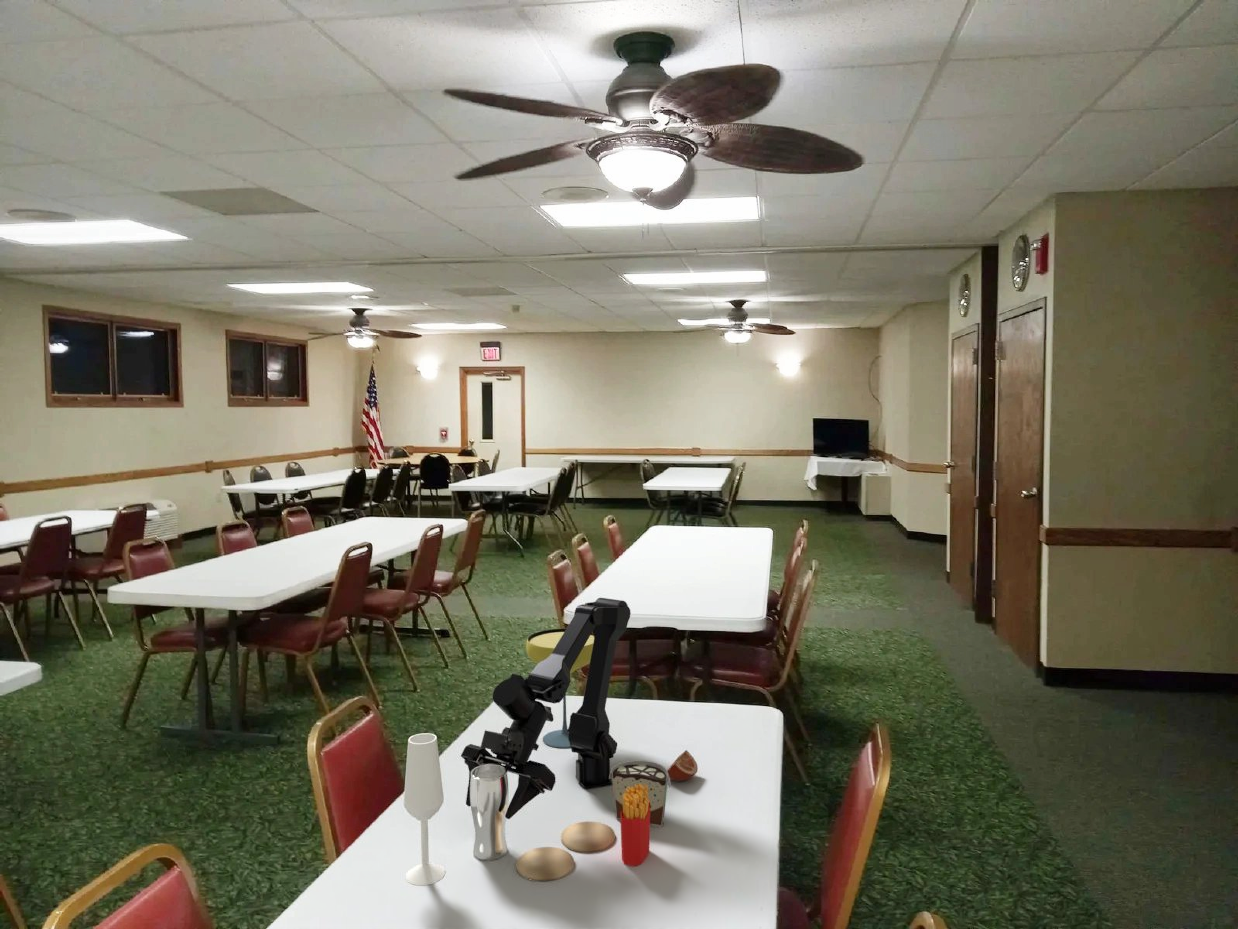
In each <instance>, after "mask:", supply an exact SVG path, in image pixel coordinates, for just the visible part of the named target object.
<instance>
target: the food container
mask: <svg viewBox="0 0 1238 929" xmlns="http://www.w3.org/2000/svg"><path fill="white" fill-rule="evenodd" d="M667 770H668V769H667V768H666V767H664V766H663V765H662V764H659V763H657V762H654V761H648V760H629V761H624V762H620V763H618V764H615V765H614V766H612V768H610V775H609V779H610V778H611V780H612V784H611V785H612V790H613V801H614V802H613V803H614V809H615V819H616V820H618V821H621V820H620V813H621V812H622V810H623V800H622V797H623V794H624V793H626V791H625V789H627V787H630V788H631V786H633V787H634V785H635V784H636V785H637V786H638V784H641V785H642V786H643V787H644V788H645V785H647V786H648V800H649V802H650V826H653V827H659V828H660V827H661V828H662V827H663V826H664V823H665V822H664V820H665V814H666V813H665V810H666V802H667V790H668V788H671V785H672V783H671V779H670V777H669V774H668V771H667ZM644 791H645V789H644Z"/></svg>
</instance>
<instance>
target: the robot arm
mask: <svg viewBox="0 0 1238 929" xmlns="http://www.w3.org/2000/svg"><path fill="white" fill-rule="evenodd" d="M631 615H632V614H631V609H630V607H629V605H628V603H627V602H626V601H625V600H621V599H613V598H608V597H607V598H605V597H598V598H597V599H596V600H595V601H592V602H591V601H590V602H585V603H584V604H579V605H577V606H576V608H575V610H574V615H573V617H572V618H571V620H570V622H569V624H568V625H567V627H566V628H567V629H566V630H565V632H564V634H563V635H562V637H561V638H560V640H559V642H558V643H557V645H556V647H555V648H554V650H553V652H552V653H551V655H550V656H549V657H548V658H547V659H545V660H543V661H541V662H540V663H538V664H536V666H535V667H534V668H533V669H532V670H531V672H530V673H529V674H528V676H526V677H525V678H524V677H523V676H522V674H519V673H511V675H510V676H509V677H508V678H505V679H504V680H502V681H501V682H500V683H498V685H496V686H495V688H494V689H493V692H492V700H493V702H494V703H495V705H496V706H497V707H498V708H499V709H500V710H501V711H502V712H503V713H504V714H505V715H506V716H507V717H508V718H509V719H511V720H512V723H511V725H510V726H509V727H506V726H505V727H504V728H503V729H502V732H501V733H500V732H495V731H491V730H484V733H483V737H482V740H481V743H480V746H479V745H476V744H472V743H470V744H468V745H466V746H465V747H464V748H463V750H462V752H461V755H460V757H461V758H462V759H463V760H464V764H466V766H467V768H468V785H467V793H466V797H465V798H466V799H465V805H466V806H467V807H471V805H470V780H471V771H472V770H473V769H474V768H475V767H478V766H480V765H484V764H499V765H502V766H505V767H506V768H507V773H511V774H515V775H517V776H518V780H517V787H516V789H515V791H514V794H513V797H512V798H511V801H510V802H509V803H508V809H507V812H506V815H505V817H506V820H510V819H511V818H512V817H513V816H515V815H516V814H517V813H518V812H519V811H520V810H522V808H524V807H525V806H526V805H528V803H530V802H531V801H532V800H534V799H535V798H536V797H537V796H538V795H540V794H543V795H544V794H545V792H546V791H549V792H551V791H552V790H553V788H555V787H554V786H555V784H556V774H555V773H554V772H553V771H552V770H551V769H550V768H549V767H548V766H547V765H546V764H545V763H541V762H538V761H533V760H531V759H530V756H531V755H532V752H533V751H538V749H539V747H540V745H539V744H538V743H537V741H538V739H539V737H540V734H541V733H542V731H543V728H544V727H545V724H546V722H550V723H552V722H553V721H554V715H553V713H552V707H550V706H548V705H547V706H546V705H544V704H543V703H542V702H546V703H551V704H558V703H559V704H560V702H561V701H563V698H564V696H565V694H567V691H568V689H569V686H570V684H571V675H570V671H571V668H572V666H573V664H574V663H575V661H576V659H577V657H578V656H579V654H580V652H581V651H582V649H583V647H584V645H585V644H586V642H587V640H588V638H589V637H590V635H591V633H592V632H593V635H594V643H593V648H592V654H591V659H590V663H589V664H588V672H587V676H586V683H585V686H584V687H585V688H584V693H583V699H582V703H581V706H580V707H579V709H578V710H576V712H572V713H571V714H570V716H569V725H568V727H567V729H568V730H567V732H568V740H569V743H570V746H571V748H570V750H571V752H572V753H575V754H577V759H576V760H575V778H576V780H577V781H578V783H580V786H582V787H583V789H585V790H587V789H593V788H597V787H603V786H609V785H613V784H612V777H611V778H610V779H609V775H610V771H611V766H610V765H611V759H613V758H614V756H615V754H616V753H617V750H618V749H617V748H618V742H617V741H616V740H615V739H614V738H613V737H612V736H611V734H610V727H611V726H610V724H611V722H610V720H609V718H608V715H607V712H606V705H607V699H608V694H609V687H610V682H611V675H612V671H613V670H612V669H613V666H614V664H613V663H614V658H615V653H616V647H617V644H618V643H617V642H618V641H619V639H620V638H622V637H623V635H624V633H625V632H626V631H627V628H628V625H629V620H630V618H631ZM541 701H542V702H541ZM488 750H490V752H491V753H492V754H491V753H490V752H489V751H488ZM494 755H496V756H494Z"/></svg>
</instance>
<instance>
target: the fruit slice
mask: <svg viewBox="0 0 1238 929" xmlns="http://www.w3.org/2000/svg"><path fill="white" fill-rule="evenodd" d="M697 763H698V762H697V761H696V759H695V757H694V756H692V755H691V753H690V752H689V751H688V750H687V749H686V750H684V751H683V752H682V753H681V754H679V755H678V757H677V758H676V759H675V760H674V761H673V763H672V764H671V765H670V766H669V767H668V768H667V769H666V770H667V771H668V774H669V777H670V780H673V781H677V782H682V781H685V780H688V779H689V780H690V779H691V778H693V777H694V776H696V774H697V772H698V764H697Z"/></svg>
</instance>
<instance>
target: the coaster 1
mask: <svg viewBox="0 0 1238 929" xmlns="http://www.w3.org/2000/svg"><path fill="white" fill-rule="evenodd" d="M574 864H575V860H574V857H573V855H572V854H571V853H570V852H569V851H568V850H565V849H563V848H560V847H554V846H541V847H536V848H533V849H529V850H527V851H525V852H524V853H522V854H521V855H520V856H519V857H518V859H517V860H516V870H517V873H518V874H519V875H520V876H521V877H522V878H524V877H525V878H524V879H526V878H527V880H529V879H531V880H530V881H533V880H534V881H533V882H552V881H556V880H560V879H562V878H564V877H566V876H567V875H569V874H570V873H571V872H572V871H573V869H574Z"/></svg>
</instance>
